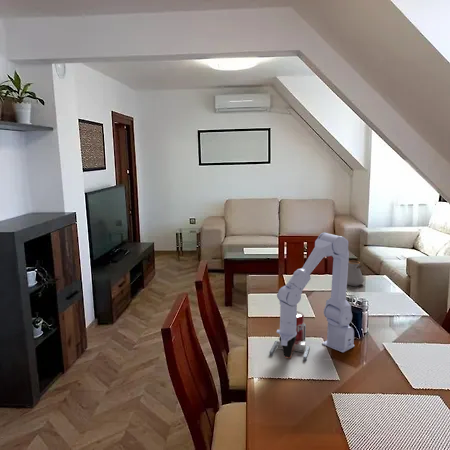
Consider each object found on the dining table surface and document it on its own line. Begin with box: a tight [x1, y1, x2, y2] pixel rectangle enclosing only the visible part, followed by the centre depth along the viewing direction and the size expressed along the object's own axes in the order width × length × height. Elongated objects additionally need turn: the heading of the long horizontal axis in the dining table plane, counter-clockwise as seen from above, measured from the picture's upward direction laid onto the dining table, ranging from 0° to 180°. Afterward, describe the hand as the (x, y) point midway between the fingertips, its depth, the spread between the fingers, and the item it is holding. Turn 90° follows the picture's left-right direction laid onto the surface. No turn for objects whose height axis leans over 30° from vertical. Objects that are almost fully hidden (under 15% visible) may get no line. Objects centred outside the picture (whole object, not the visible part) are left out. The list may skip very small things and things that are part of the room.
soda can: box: [296, 310, 305, 342], centre depth 158 cm, size 7×7×12 cm
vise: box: [269, 323, 311, 362], centre depth 156 cm, size 18×13×6 cm
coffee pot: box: [347, 260, 365, 287], centre depth 225 cm, size 21×12×15 cm, turn 175°
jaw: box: [277, 339, 307, 360], centre depth 151 cm, size 9×10×3 cm
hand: (287, 356), depth 147 cm, fingers closed, pressing on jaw
